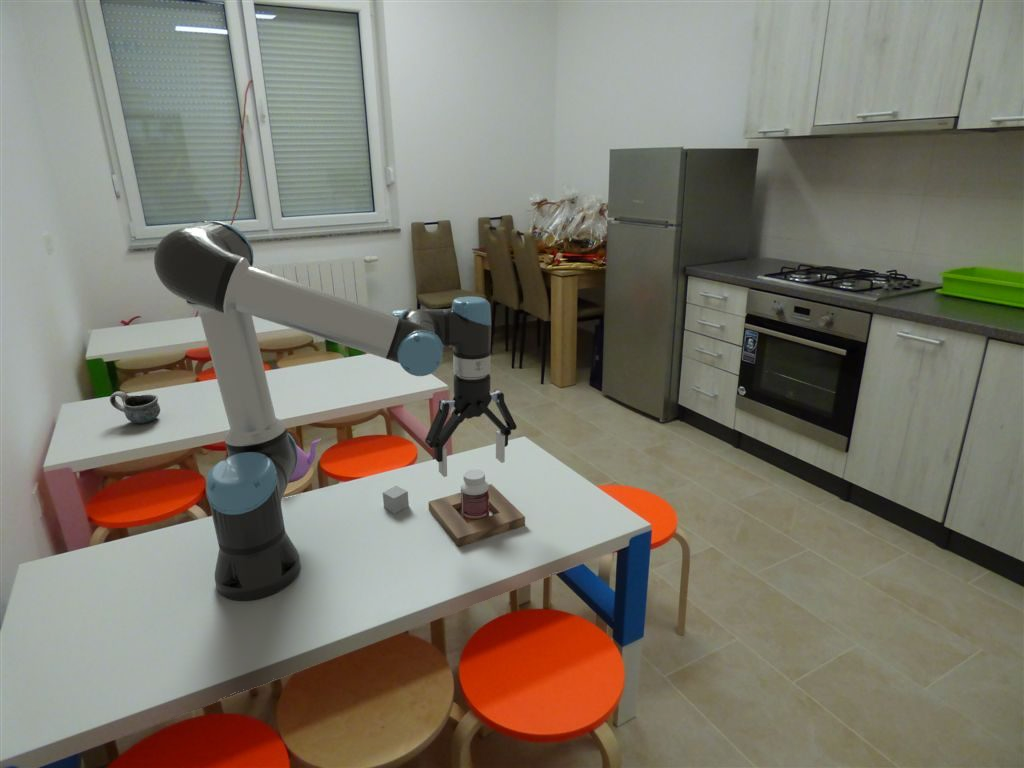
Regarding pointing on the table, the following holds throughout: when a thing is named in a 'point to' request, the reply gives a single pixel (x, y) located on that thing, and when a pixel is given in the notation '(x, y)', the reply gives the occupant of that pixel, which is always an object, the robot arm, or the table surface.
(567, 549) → the table surface
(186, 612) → the table surface
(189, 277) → the robot arm
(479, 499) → the pill bottle
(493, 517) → the socket board
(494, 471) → the table surface
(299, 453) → the teapot
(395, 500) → the grey eraser block
